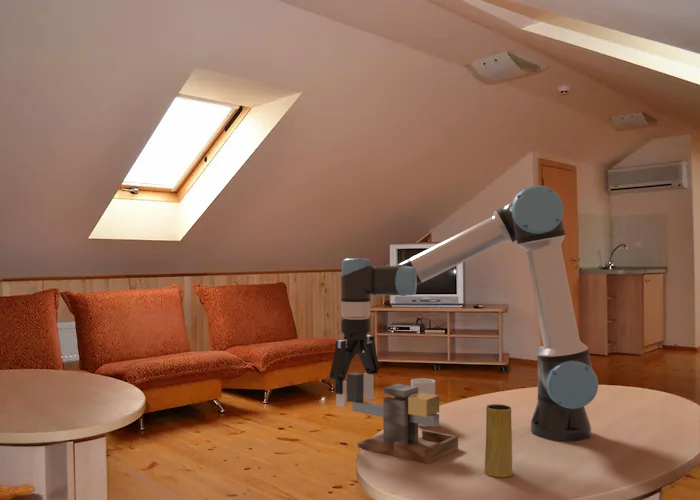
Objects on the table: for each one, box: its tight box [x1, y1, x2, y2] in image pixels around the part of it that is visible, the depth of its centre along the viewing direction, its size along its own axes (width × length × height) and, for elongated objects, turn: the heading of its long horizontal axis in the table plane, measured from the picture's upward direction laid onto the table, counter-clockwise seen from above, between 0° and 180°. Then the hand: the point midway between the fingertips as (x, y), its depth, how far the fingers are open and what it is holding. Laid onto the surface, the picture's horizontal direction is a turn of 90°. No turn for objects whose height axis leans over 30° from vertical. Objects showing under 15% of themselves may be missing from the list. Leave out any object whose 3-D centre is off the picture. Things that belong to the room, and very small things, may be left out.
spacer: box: [408, 393, 440, 417], centre depth 152 cm, size 5×6×4 cm
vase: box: [484, 403, 514, 479], centre depth 137 cm, size 6×6×14 cm
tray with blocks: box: [357, 383, 459, 465], centre depth 155 cm, size 20×14×14 cm
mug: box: [410, 378, 436, 428], centre depth 179 cm, size 10×7×12 cm, turn 161°
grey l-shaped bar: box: [346, 371, 440, 427], centre depth 158 cm, size 26×3×9 cm, turn 53°
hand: (355, 402), depth 165 cm, fingers open, 11 cm apart
